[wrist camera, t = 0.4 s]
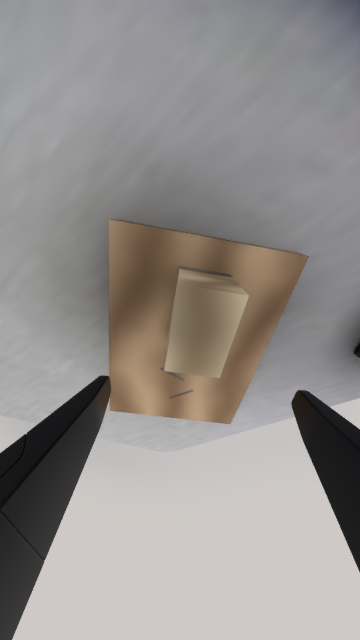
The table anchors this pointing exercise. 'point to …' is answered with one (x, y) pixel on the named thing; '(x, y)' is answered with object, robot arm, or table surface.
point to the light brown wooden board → (156, 309)
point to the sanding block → (203, 322)
